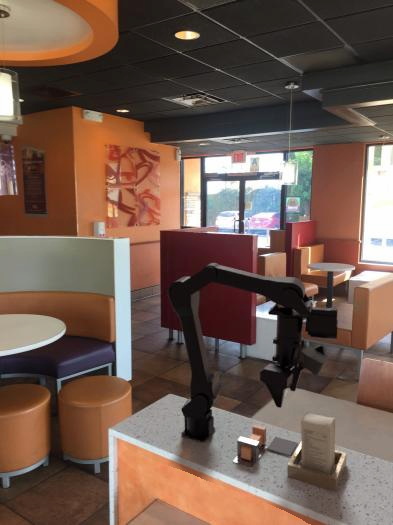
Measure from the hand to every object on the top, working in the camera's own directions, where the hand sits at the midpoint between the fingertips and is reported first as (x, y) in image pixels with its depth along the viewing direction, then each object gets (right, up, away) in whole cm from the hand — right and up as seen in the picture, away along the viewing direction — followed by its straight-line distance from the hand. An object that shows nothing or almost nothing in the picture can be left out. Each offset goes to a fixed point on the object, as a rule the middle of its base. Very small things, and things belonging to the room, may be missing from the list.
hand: (286, 398), depth 103 cm
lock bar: (-7, -12, +1) cm, 14 cm away
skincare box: (+5, -14, -7) cm, 16 cm away
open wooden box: (+5, -13, -7) cm, 16 cm away
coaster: (0, -12, +2) cm, 12 cm away
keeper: (-8, -13, -1) cm, 15 cm away
